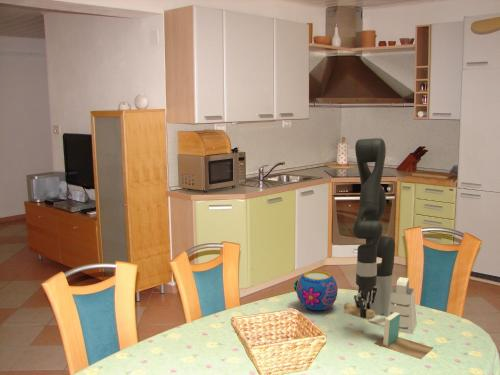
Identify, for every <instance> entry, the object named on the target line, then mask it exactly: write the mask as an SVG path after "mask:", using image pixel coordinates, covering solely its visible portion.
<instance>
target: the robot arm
mask: <svg viewBox="0 0 500 375" xmlns="http://www.w3.org/2000/svg"><path fill="white" fill-rule="evenodd" d="M354 147H355V148H354V149H355V150H354V151H355V158H356V164H357V169H358V174H359V179H360V180H359V181H360V193H359V194H360V195H359V206H358V212H357V216H356V218H355V221H354V224H353V227H352V234H353V236H354V237H355V238H356V239H360V240H365V243H363V244H360V245H358V247H357V251H356V252H357V256H356V258H357V259H356V267H355V269H356V270H355V284H356V285H357V286H358V290H357V295H354V296H353V299H354V302H355V305H356V306H357V308H360V317H361V319H364V318H366V308H367V309H370V310H374V311H375V315H377V316H382V317H387V315H388V309H389V303H390V297H391V292H392V290H393V270H394V264H395V253H396V242H395V239H394V238H393V237H391V236H386V235H382V234H383V232H384V231H383V230H384V229H383V228H384V227H383V224H382V222H381V221H380V220H381V219H382V217H383V216H384V214H385V212H386V210H387V197H386V192H385V189H384V187H383V186H382V185H381V184H382V178H383V172H384V166H385V161H386V154H387V152H386V151H387V150H386V148H387V147H386V144H385V140H384V139H383V138H381V137H379V138H377V137H375V138H361V139H360V138H359V139H358V140H356V142H355V145H354ZM368 163H374V166H373V170H372V172H371V170H370V168H369V167H370V166H369V165H368ZM377 258H379V259H381V262H378V263H377ZM390 313H391V312H390ZM360 317H359V318H360Z"/></svg>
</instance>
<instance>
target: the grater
mask: <svg viewBox="0 0 500 375" xmlns="http://www.w3.org/2000/svg"><path fill="white" fill-rule="evenodd" d="M416 310H417V309H416V297H415V288H411V287H410V278H408V277H403V276H402V277H401V276H400V277H398V279H397V281H396V285H394V287H392V292H391V297H390V303H389V309H388V315H387V316H386V318H387V317H389V316H390V315H392V314H393V313H395V312H397V313H400V321H399V333H405V334H409V335H410V334H411V335H413V334H414V332H415V330H416V326H417V325H418V324H417V311H416ZM390 312H391V313H390Z"/></svg>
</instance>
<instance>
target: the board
mask: <svg viewBox="0 0 500 375" xmlns="http://www.w3.org/2000/svg"><path fill="white" fill-rule="evenodd" d="M383 340H384V335H383V336H382V337H381V338H379V339H378V340H376V341H375V342H374V343H373V344H374V345H375V346H379V347H382V348H384V349H385V348H386V349H389V350H392V351H395V352H398V353H401V354H403V355H407V356H410V357H413V358H415V359H419V360H422V359H423V358H424V357H425V356H426V355H427V354H429V353H430V352H431V351H432V350H434V347H432V346H429V345H426V344H424V343H419V342H417V341H412V340H411V339H410V340H409V339H407V338H404V337H399V336H398V339H397V340H395V341H394V342H393V343H391V344H390V345H389V346H386V345H383Z"/></svg>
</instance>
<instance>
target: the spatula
mask: <svg viewBox="0 0 500 375" xmlns="http://www.w3.org/2000/svg"><path fill="white" fill-rule="evenodd" d="M343 313H344V314H348V315H349V316H350V315H351V316H355V317H357V318H361V317H360V308H357V306H356V304H352V303H349V302H346V303H345V304H343ZM385 318H386V317H385V316H382V315H378V314H375V311H374V310H370V309H367V308H366V318H363V319H364V320H367V323H369V324H372V325H373V324H374V325H376V326H380V327H382V328H384V327H385ZM361 319H362V318H361Z"/></svg>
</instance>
